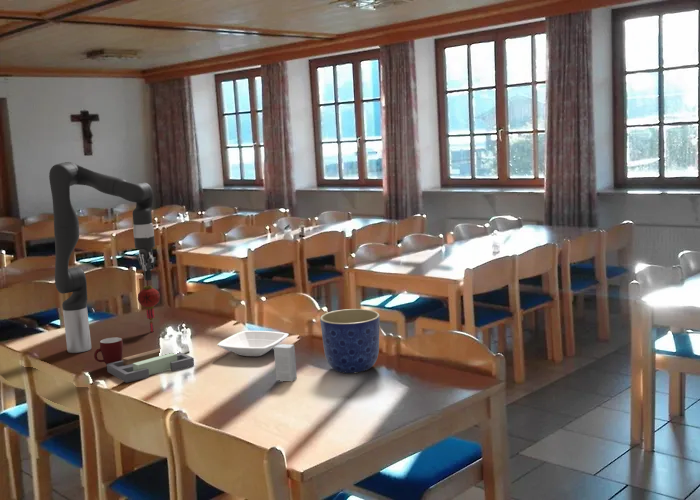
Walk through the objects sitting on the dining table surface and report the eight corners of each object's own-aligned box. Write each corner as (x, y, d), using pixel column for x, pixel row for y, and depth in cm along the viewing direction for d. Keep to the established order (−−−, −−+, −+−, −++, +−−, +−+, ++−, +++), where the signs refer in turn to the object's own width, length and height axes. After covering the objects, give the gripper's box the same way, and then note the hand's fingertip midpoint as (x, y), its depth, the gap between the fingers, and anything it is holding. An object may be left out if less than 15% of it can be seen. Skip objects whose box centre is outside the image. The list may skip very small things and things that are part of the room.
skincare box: (297, 378, 279) (294, 344, 277) (292, 382, 275) (289, 347, 273) (280, 377, 281) (278, 343, 279) (275, 381, 277) (273, 347, 275)
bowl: (213, 360, 306) (211, 345, 305) (243, 343, 327) (242, 329, 326) (266, 364, 297) (265, 349, 296) (294, 346, 318) (293, 332, 317)
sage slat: (134, 376, 291) (132, 363, 291) (172, 365, 302) (171, 352, 302) (139, 378, 289) (137, 365, 288) (178, 367, 300) (176, 354, 299)
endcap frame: (107, 371, 298) (106, 363, 298) (173, 356, 314) (172, 348, 313) (126, 382, 284) (125, 374, 284) (194, 365, 300) (193, 357, 299)
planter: (394, 366, 287) (391, 313, 284) (354, 382, 272) (351, 326, 269) (351, 356, 301) (348, 306, 298) (310, 371, 286) (307, 318, 283)
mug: (100, 372, 298) (97, 346, 296) (92, 367, 304) (89, 341, 303) (128, 366, 304) (125, 340, 302) (120, 361, 310) (117, 336, 309)
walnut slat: (124, 371, 299) (122, 358, 298) (162, 360, 309) (161, 347, 309) (128, 373, 296) (127, 359, 295) (167, 362, 307) (166, 349, 306)
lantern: (160, 334, 348) (153, 264, 343) (138, 335, 348) (131, 265, 343) (165, 328, 357) (159, 260, 352) (144, 329, 357) (137, 261, 352)
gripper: (127, 235, 315) (132, 279, 318) (141, 238, 305) (146, 284, 307) (146, 232, 319) (150, 276, 322) (160, 235, 309) (164, 280, 312)
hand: (148, 280), depth 315 cm, fingers closed
